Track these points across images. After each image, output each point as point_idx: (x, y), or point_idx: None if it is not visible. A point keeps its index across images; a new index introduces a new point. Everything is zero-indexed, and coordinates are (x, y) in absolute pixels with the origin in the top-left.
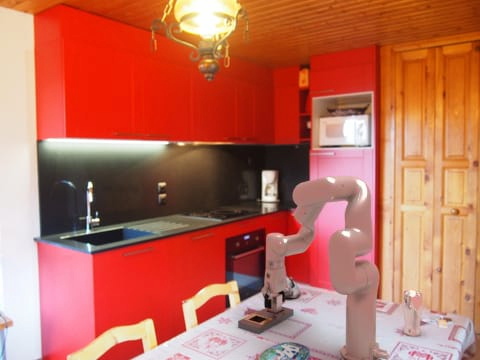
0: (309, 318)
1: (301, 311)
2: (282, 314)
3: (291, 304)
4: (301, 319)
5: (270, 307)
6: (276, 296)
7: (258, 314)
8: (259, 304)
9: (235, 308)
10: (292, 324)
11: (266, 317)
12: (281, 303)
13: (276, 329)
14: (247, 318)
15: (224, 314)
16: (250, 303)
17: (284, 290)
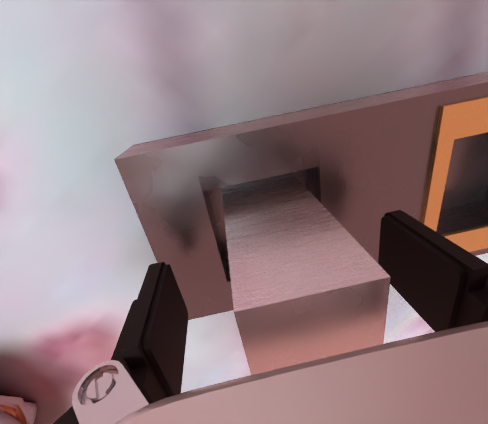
0: (21, 10)
1: (3, 180)
2: (290, 135)
3: (5, 305)
4: (112, 52)
5: (407, 217)
6: (361, 299)
7: None
8: (186, 374)
9: None
10: (255, 28)
11: (436, 166)
12: (239, 233)
13: (413, 51)
14: None
15: None
16: None
17: (110, 395)
